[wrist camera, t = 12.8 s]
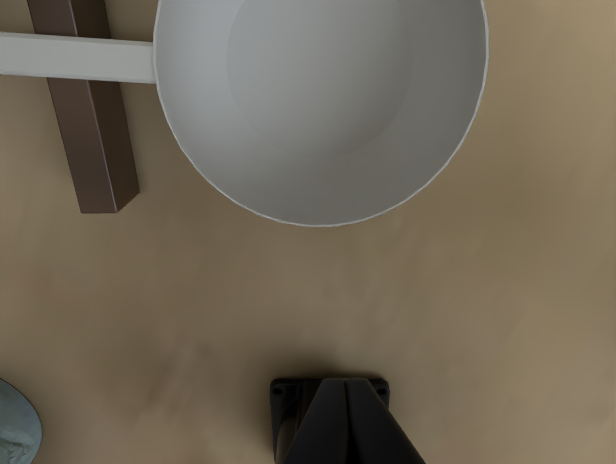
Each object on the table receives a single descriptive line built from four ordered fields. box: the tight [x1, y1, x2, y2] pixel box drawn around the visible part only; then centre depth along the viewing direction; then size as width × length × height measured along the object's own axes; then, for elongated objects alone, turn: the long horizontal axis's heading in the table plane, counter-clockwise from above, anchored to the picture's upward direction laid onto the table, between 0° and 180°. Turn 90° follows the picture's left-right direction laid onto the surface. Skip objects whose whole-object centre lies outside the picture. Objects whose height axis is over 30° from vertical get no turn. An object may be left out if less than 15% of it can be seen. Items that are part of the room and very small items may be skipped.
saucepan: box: [0, 0, 489, 227], centre depth 16 cm, size 11×18×4 cm, turn 86°
